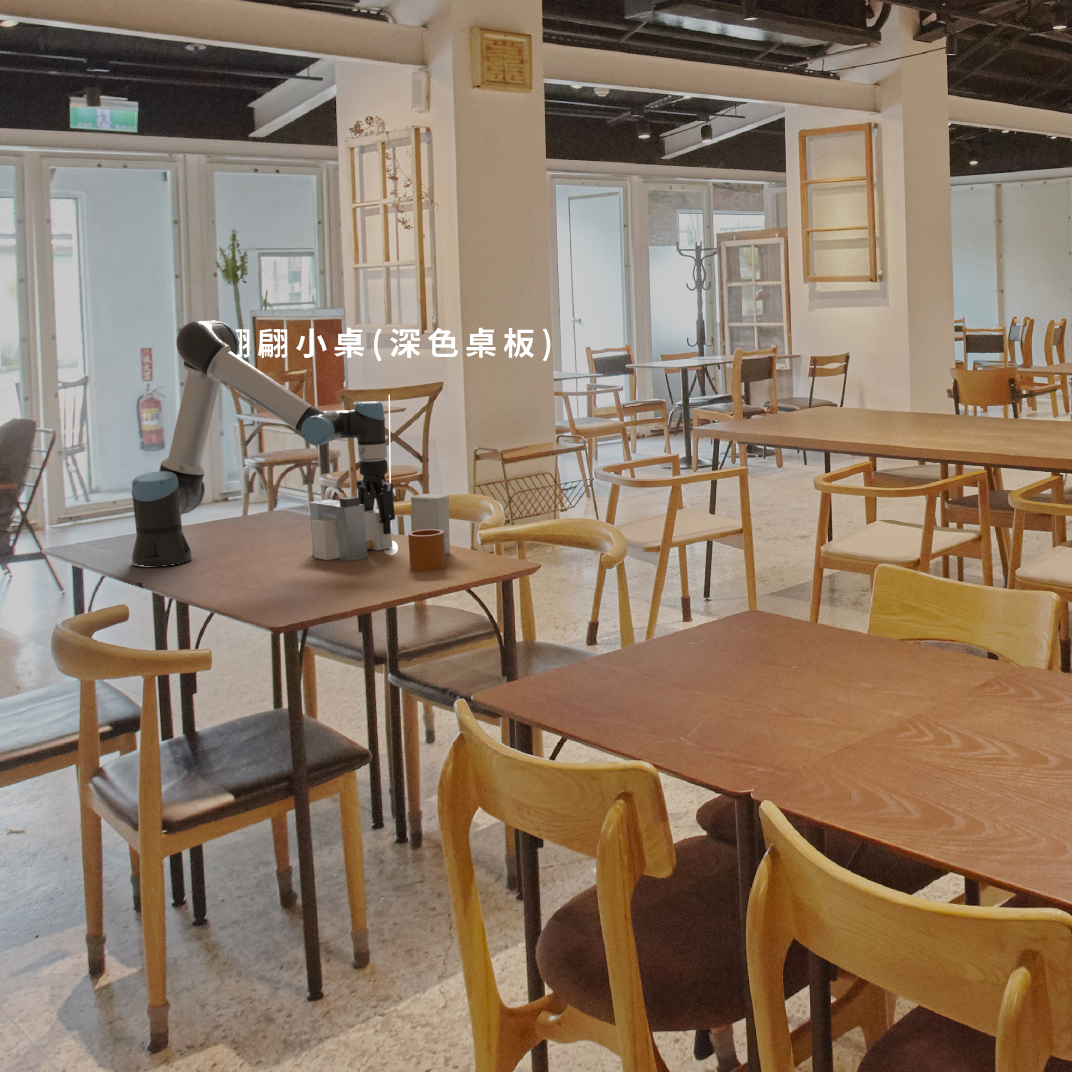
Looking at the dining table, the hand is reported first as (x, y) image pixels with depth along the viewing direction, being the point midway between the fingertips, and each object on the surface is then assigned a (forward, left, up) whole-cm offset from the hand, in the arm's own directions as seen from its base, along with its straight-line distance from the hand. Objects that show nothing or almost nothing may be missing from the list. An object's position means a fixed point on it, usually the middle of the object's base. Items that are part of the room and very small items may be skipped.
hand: (378, 544), depth 329 cm
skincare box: (+19, +3, -1) cm, 19 cm away
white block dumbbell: (0, -8, -1) cm, 8 cm away
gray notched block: (0, -13, -1) cm, 13 cm away
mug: (+31, -7, -1) cm, 32 cm away
